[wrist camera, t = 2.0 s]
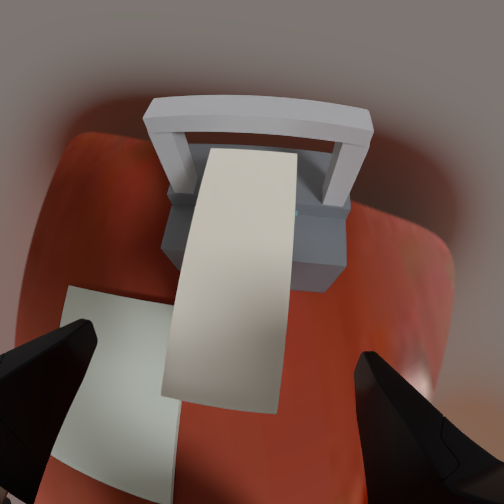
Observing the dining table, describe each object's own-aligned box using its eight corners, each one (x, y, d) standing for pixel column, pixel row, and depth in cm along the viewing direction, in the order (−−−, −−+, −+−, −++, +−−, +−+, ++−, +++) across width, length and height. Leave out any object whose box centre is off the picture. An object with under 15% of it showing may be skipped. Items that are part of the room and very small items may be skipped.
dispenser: (324, 292, 17) (401, 193, 7) (185, 278, 18) (103, 172, 8) (325, 210, 20) (370, 81, 9) (202, 200, 20) (161, 70, 10)
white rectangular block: (268, 384, 15) (278, 414, 6) (216, 377, 16) (159, 395, 6) (281, 259, 18) (298, 153, 9) (233, 254, 19) (209, 148, 9)
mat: (172, 503, 12) (170, 506, 11) (55, 453, 13) (50, 455, 12) (194, 310, 17) (192, 308, 17) (73, 287, 18) (68, 285, 17)
